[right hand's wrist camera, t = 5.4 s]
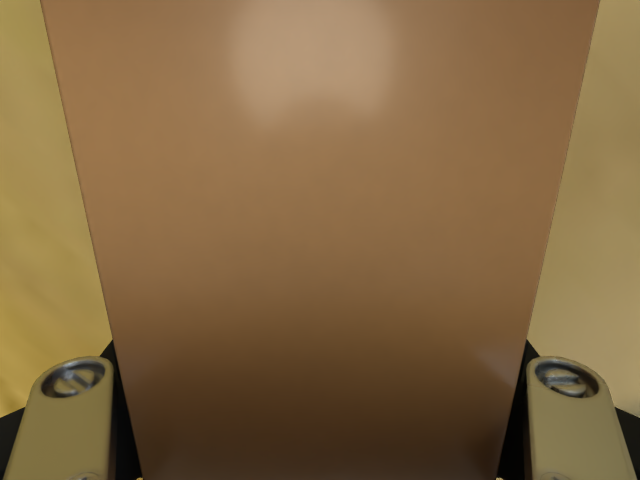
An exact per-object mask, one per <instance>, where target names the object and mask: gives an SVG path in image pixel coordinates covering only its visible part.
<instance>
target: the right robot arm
mask: <svg viewBox="0 0 640 480" xmlns="http://www.w3.org/2000/svg"><path fill="white" fill-rule="evenodd" d="M137 478H143V477H142V473H141V468H140V463H139V459H138V454H137V449H136V445H135V440H134V435H133V431H132V426H131V421H130V417H129V412H128V407H127V403H126V398H125V393H124V389H123V384H122V379H121V375H120V370H119V366H118V361H117V356H116V352H115V347H114V342H113V340H112V341H111V342H110V344H109V345H108V346H107V347H106V349H105V350H104V351H103V353H102V354H101V355H100V357H98V356H86V357H78V358H74V359H71V360H67V361H64V362H62V363H60V364H57V365H55V366H53V367H52V368H50V369H49V370H47V371H45V372H44V373H43V374H42V375H41V376H40V377H39V378H38V379H37V380H36V381H35V383H34V384H33V386H32V388H31V392H30V395H29V398H28V401H27V404H26V407H24V408H22V409H19V410H17V411H15V412H13V413H10V414H8V415H6V416H4V417H1V418H0V480H137ZM496 478H502V479H503V480H640V418H638V417H636V416H634V415H632V414H629V413H627V412H625V411H623V410H620V409H618V408H616V407H614V404H613V401H612V398H611V395H610V392H609V388H608V386H607V384H606V383H605V381H604V380H603V379H602V378H601V377H600V376H599V375H598V374H597V373H596V372H595V371H593V370H591V369H590V368H588V367H587V366H585V365H582V364H580V363H578V362H576V361H573V360H569V359H566V358H562V357H554V356H542V357H540V356H539V354H538V353H537V352H536V351H535V349H534V348H533V347H532V345H531V344H530V343H529V341H528V340H527V339H526V343H525V348H524V352H523V357H522V362H521V366H520V371H519V375H518V380H517V384H516V389H515V394H514V398H513V403H512V407H511V412H510V417H509V421H508V426H507V430H506V435H505V440H504V444H503V449H502V453H501V458H500V463H499V467H498V472H497V476H496Z"/></svg>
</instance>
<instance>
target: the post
mask: <svg viewBox="0 0 640 480" xmlns="http://www.w3.org/2000/svg"><path fill="white" fill-rule="evenodd" d="M40 2H41V7H42V12H43V16H44V21H45V25H46V30H47V35H48V39H49V44H50V49H51V53H52V58H53V63H54V67H55V72H56V77H57V81H58V86H59V91H60V95H61V100H62V105H63V109H64V114H65V119H66V123H67V128H68V133H69V137H70V142H71V147H72V151H73V156H74V161H75V165H76V170H77V175H78V179H79V184H80V189H81V193H82V198H83V202H84V207H85V212H86V216H87V221H88V226H89V230H90V235H91V240H92V244H93V249H94V254H95V258H96V263H97V268H98V272H99V277H100V282H101V286H102V291H103V296H104V300H105V305H106V310H107V314H108V319H109V324H110V328H111V333H112V338H113V342H114V347H115V352H116V356H117V361H118V366H119V370H120V375H121V379H122V384H123V389H124V393H125V398H126V403H127V407H128V412H129V417H130V421H131V426H132V431H133V435H134V440H135V445H136V449H137V454H138V459H139V463H140V468H141V473H142V477H143V480H496V476H497V472H498V467H499V463H500V458H501V453H502V449H503V444H504V440H505V435H506V430H507V426H508V421H509V417H510V412H511V407H512V403H513V398H514V394H515V389H516V384H517V380H518V375H519V371H520V366H521V362H522V357H523V352H524V348H525V343H526V339H527V334H528V329H529V325H530V320H531V316H532V311H533V306H534V302H535V297H536V293H537V288H538V283H539V279H540V274H541V270H542V265H543V260H544V256H545V251H546V247H547V242H548V237H549V233H550V228H551V224H552V219H553V214H554V210H555V205H556V201H557V196H558V191H559V187H560V182H561V178H562V173H563V168H564V164H565V159H566V155H567V150H568V145H569V141H570V136H571V132H572V127H573V122H574V118H575V113H576V109H577V104H578V99H579V95H580V90H581V86H582V81H583V76H584V72H585V67H586V63H587V58H588V53H589V49H590V44H591V40H592V35H593V30H594V26H595V21H596V17H597V12H598V7H599V3H600V0H40Z"/></svg>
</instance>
